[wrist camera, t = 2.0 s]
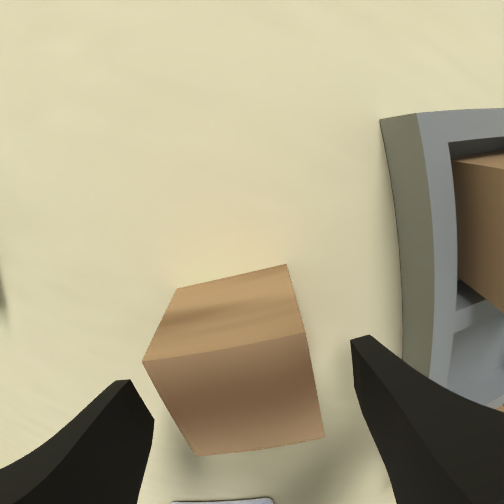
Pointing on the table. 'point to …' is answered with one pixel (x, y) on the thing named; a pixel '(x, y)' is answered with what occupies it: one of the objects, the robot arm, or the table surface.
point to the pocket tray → (451, 246)
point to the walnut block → (236, 364)
